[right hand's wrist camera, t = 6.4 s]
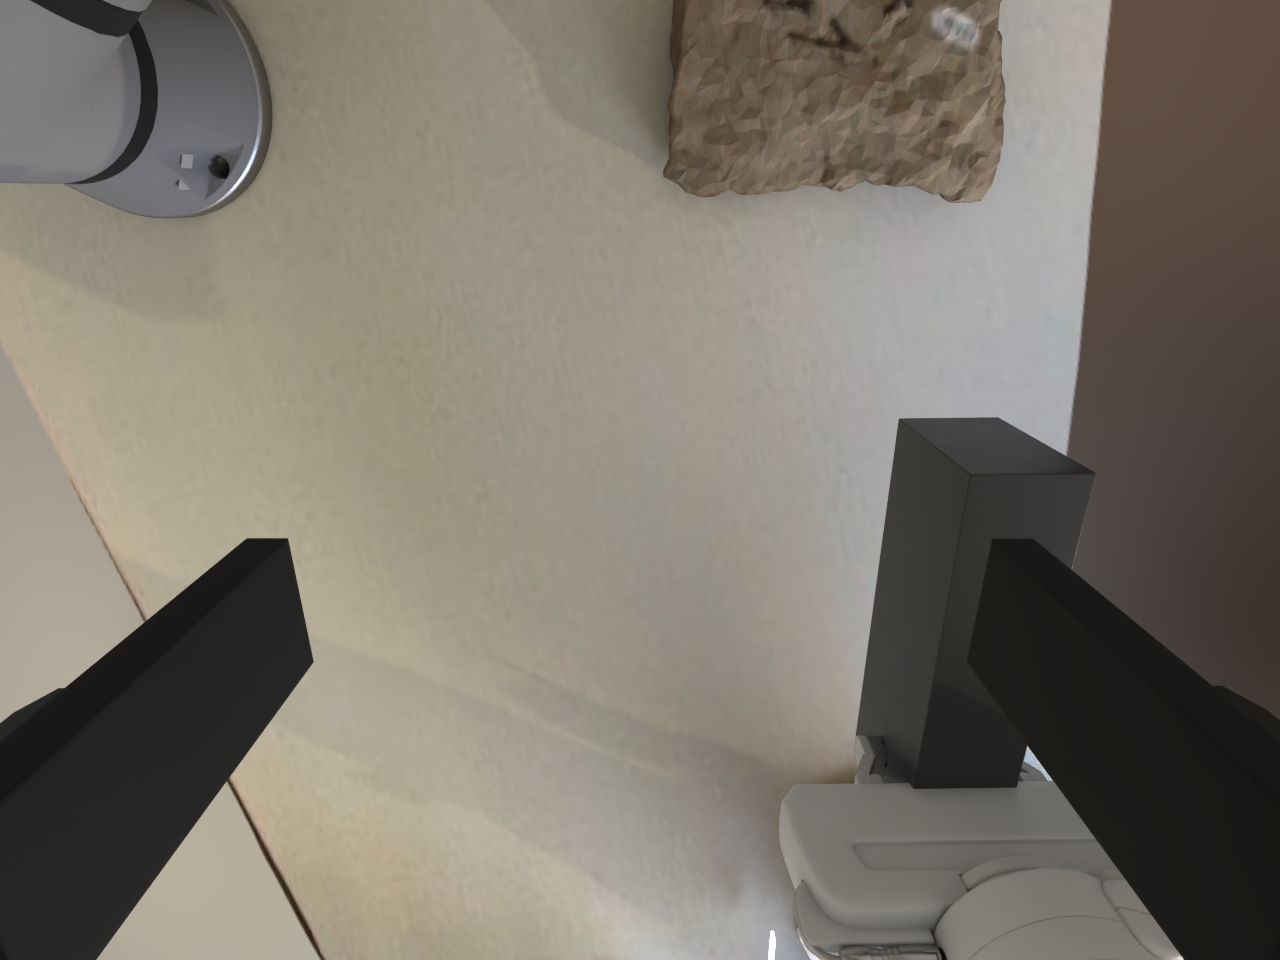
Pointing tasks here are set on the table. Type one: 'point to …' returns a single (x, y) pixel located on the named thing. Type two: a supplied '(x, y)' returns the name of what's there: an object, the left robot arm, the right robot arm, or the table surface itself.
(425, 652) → the table surface
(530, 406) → the table surface
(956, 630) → the bar
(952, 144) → the stone
